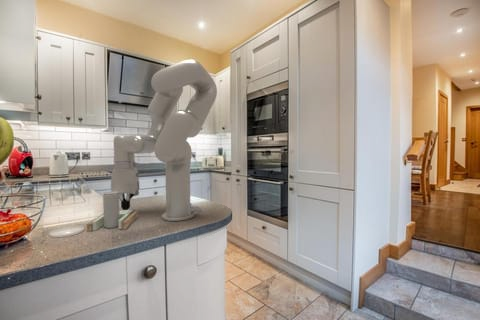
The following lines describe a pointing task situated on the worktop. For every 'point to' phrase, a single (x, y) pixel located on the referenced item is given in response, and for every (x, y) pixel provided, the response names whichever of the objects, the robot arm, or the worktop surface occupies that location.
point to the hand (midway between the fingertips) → (125, 209)
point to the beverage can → (111, 209)
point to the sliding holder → (122, 216)
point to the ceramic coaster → (66, 231)
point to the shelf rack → (125, 223)
